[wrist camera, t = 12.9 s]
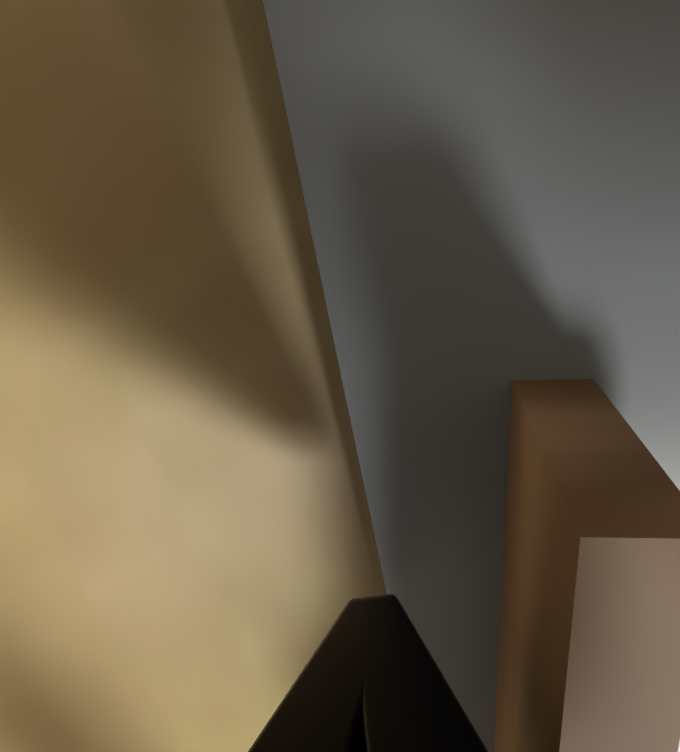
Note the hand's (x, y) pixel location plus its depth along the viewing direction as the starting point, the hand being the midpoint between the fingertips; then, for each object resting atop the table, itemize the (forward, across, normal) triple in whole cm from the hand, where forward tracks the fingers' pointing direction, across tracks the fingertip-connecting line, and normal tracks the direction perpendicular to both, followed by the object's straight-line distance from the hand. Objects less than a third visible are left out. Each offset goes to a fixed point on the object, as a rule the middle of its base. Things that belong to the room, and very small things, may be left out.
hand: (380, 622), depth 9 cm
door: (+1, -2, +2) cm, 3 cm away
